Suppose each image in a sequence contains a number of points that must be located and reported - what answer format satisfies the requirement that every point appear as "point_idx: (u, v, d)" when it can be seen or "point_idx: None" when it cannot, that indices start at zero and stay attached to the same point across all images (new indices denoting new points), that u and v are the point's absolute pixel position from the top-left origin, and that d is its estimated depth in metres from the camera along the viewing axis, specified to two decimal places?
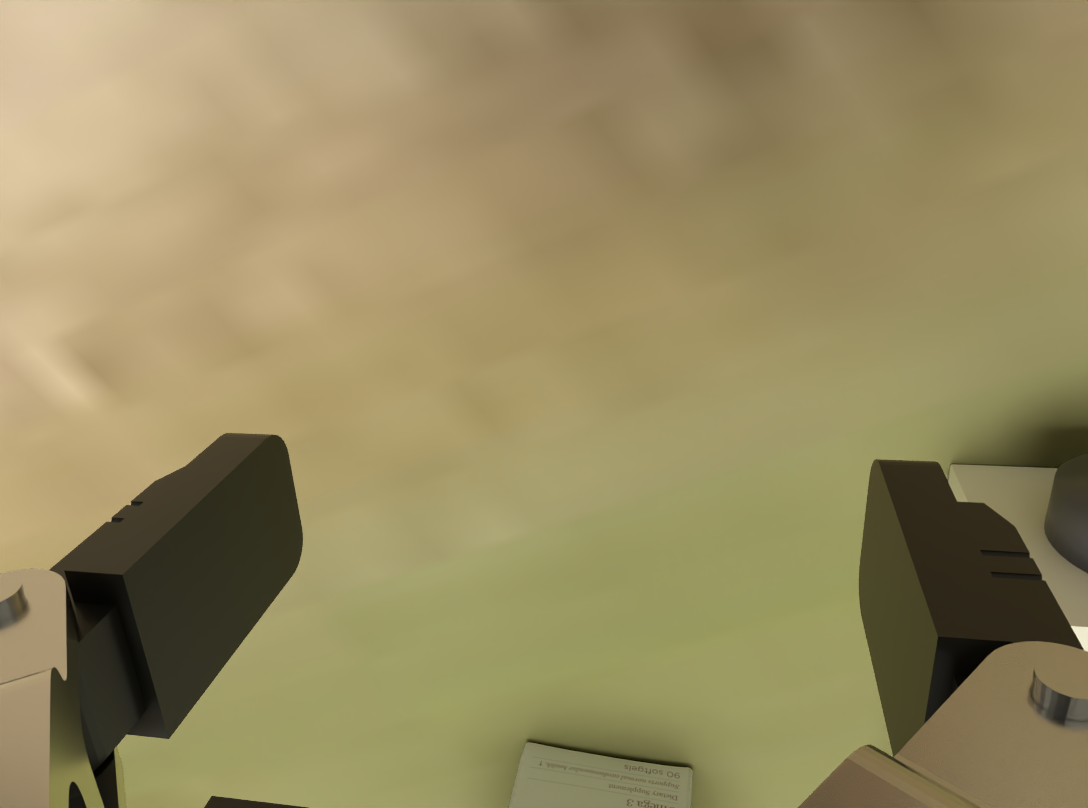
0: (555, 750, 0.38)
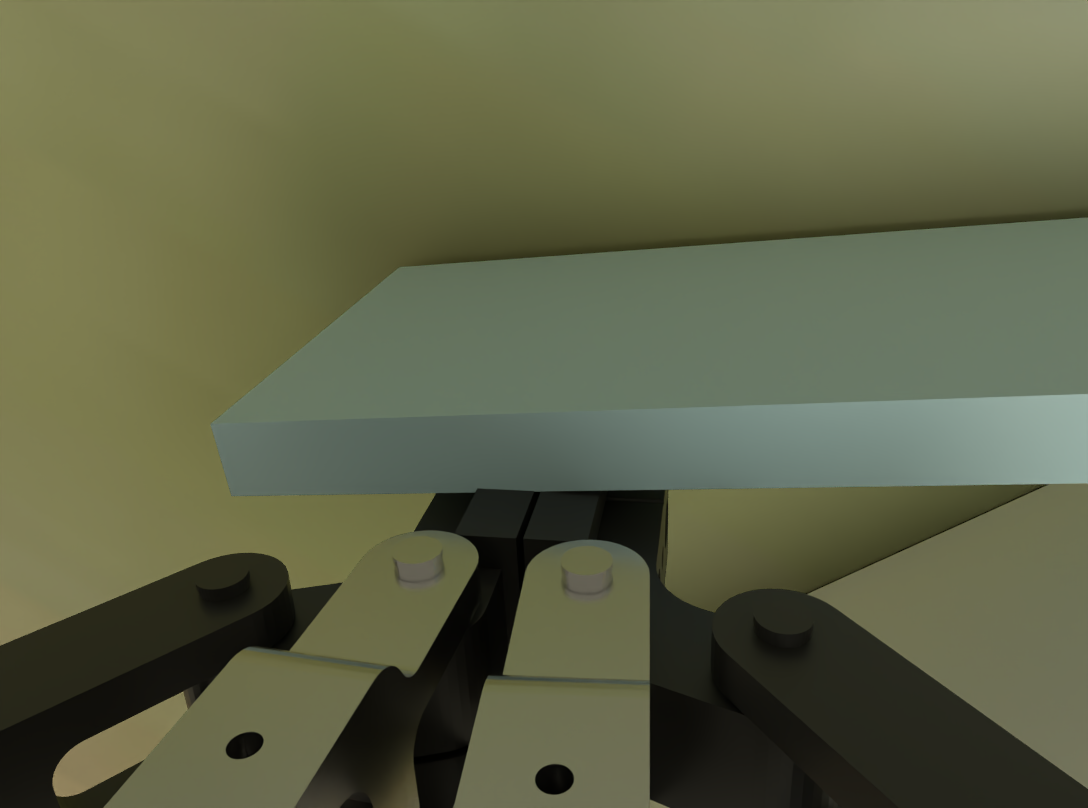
0: None
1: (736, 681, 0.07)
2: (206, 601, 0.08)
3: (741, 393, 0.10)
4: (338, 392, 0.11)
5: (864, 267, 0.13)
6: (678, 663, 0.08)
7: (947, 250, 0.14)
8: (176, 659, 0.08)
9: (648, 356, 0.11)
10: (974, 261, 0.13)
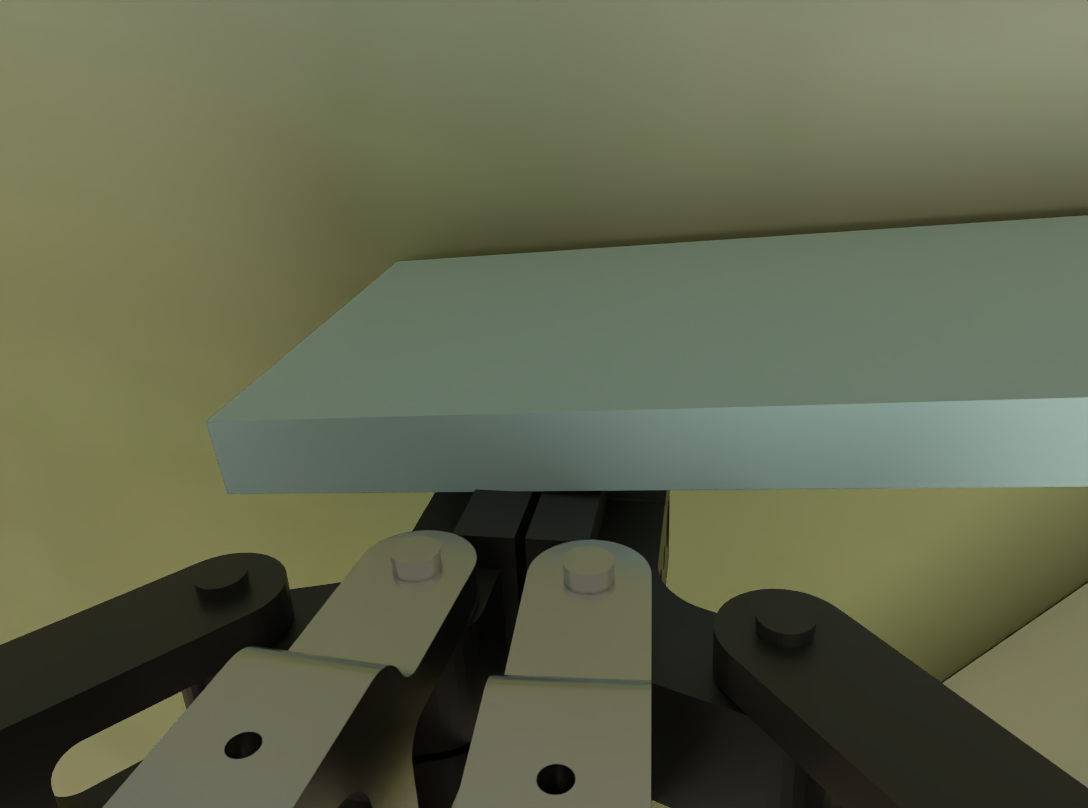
0: None
1: (738, 681, 0.07)
2: (204, 601, 0.08)
3: (738, 394, 0.10)
4: (335, 389, 0.11)
5: (863, 265, 0.13)
6: (680, 663, 0.08)
7: (947, 248, 0.14)
8: (174, 659, 0.08)
9: (646, 354, 0.11)
10: (974, 259, 0.13)
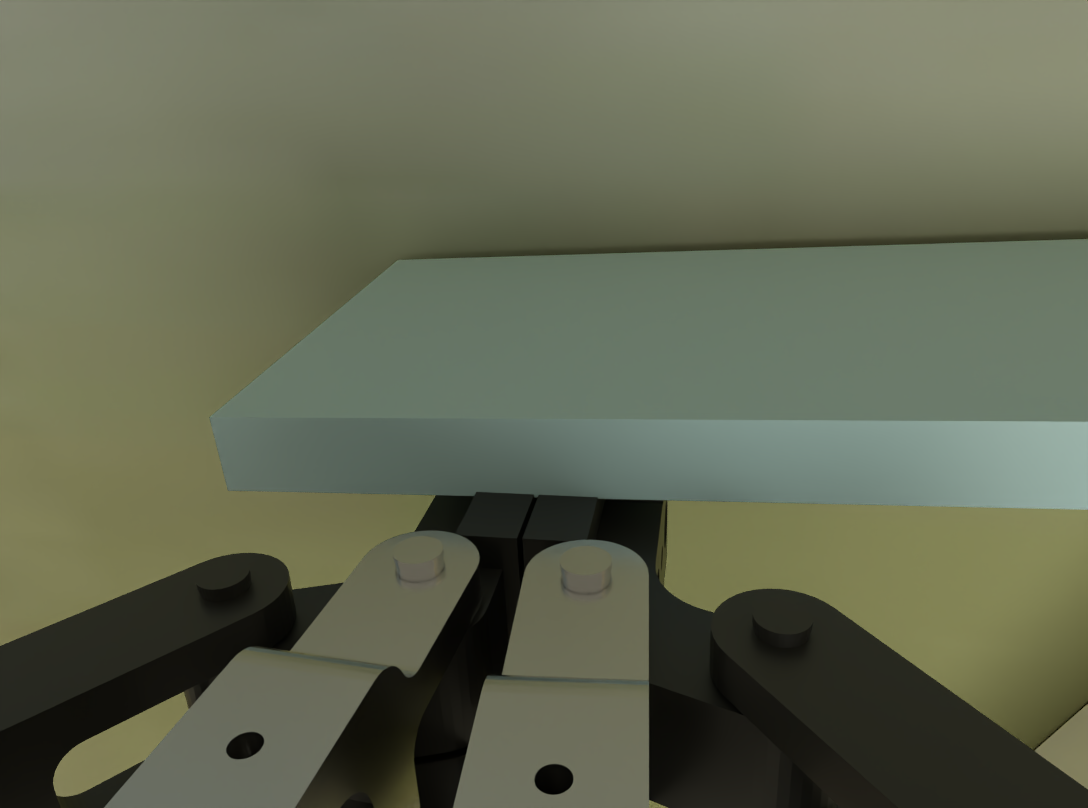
0: None
1: (735, 680, 0.07)
2: (207, 601, 0.08)
3: (749, 407, 0.10)
4: (340, 388, 0.11)
5: (868, 280, 0.13)
6: (677, 663, 0.08)
7: (950, 266, 0.14)
8: (176, 659, 0.08)
9: (655, 364, 0.11)
10: (977, 279, 0.13)
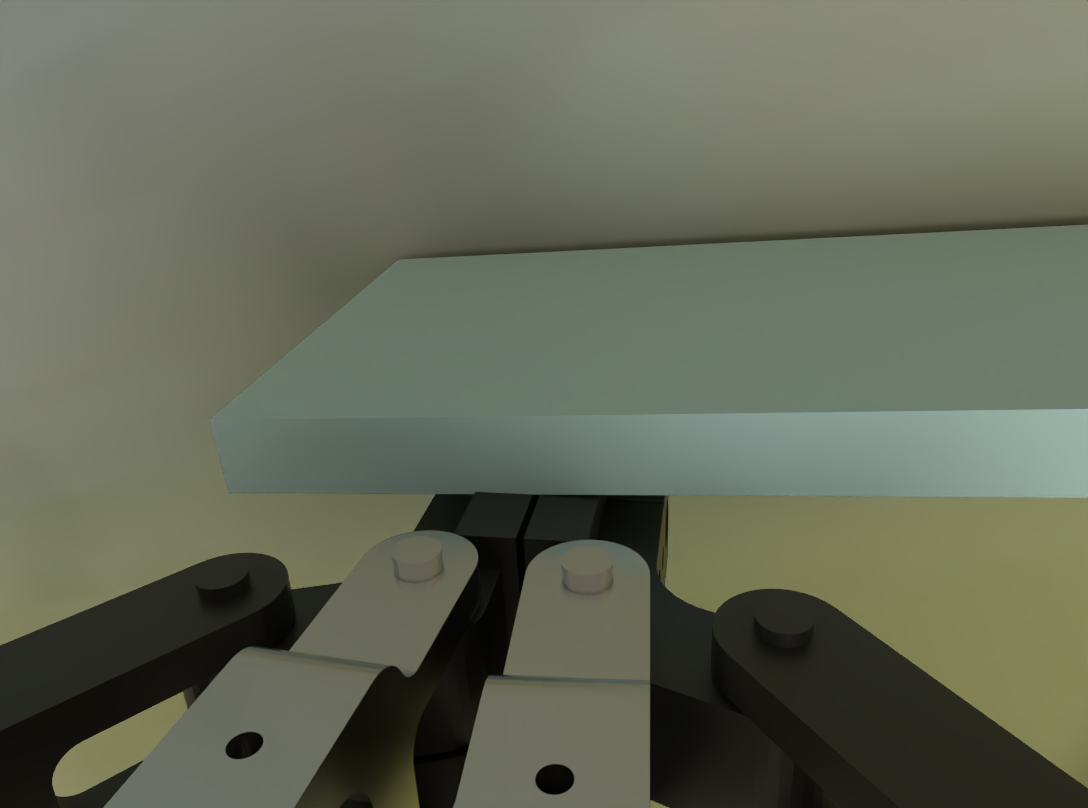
0: None
1: (736, 680, 0.07)
2: (206, 601, 0.08)
3: (747, 401, 0.10)
4: (339, 389, 0.11)
5: (868, 271, 0.13)
6: (678, 663, 0.08)
7: (952, 255, 0.14)
8: (176, 659, 0.08)
9: (652, 358, 0.11)
10: (979, 268, 0.13)
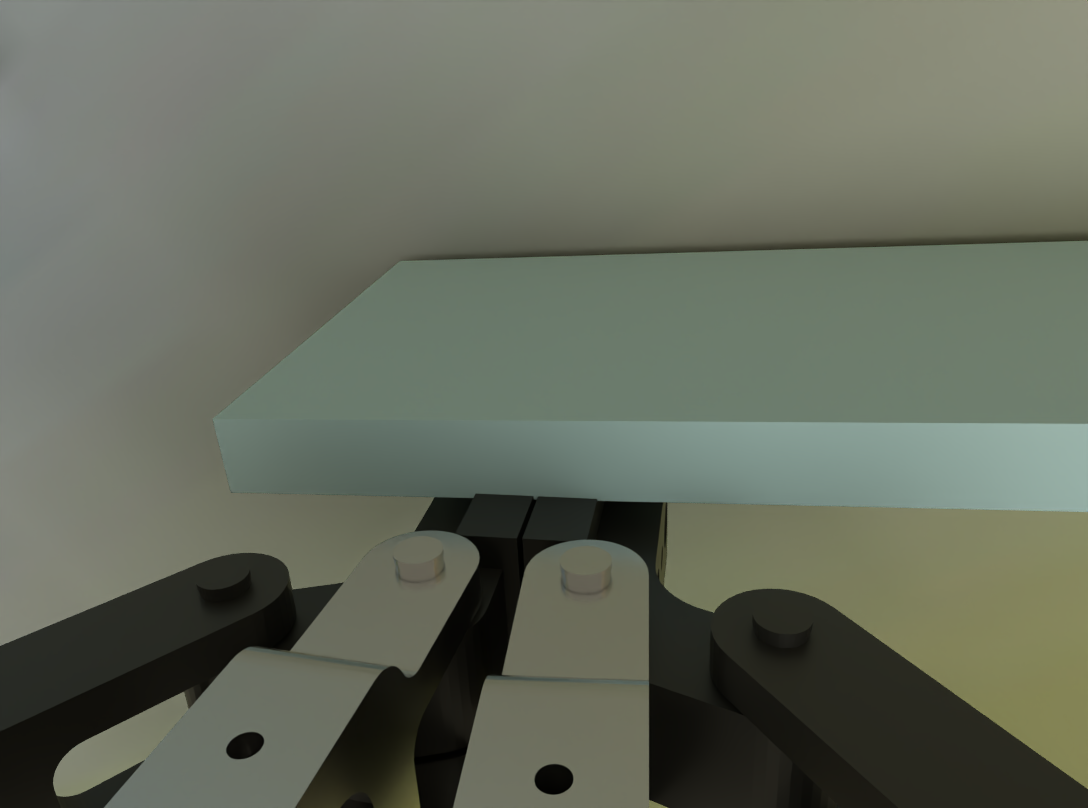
0: None
1: (735, 680, 0.07)
2: (207, 601, 0.08)
3: (755, 409, 0.10)
4: (344, 390, 0.11)
5: (872, 282, 0.13)
6: (677, 663, 0.08)
7: (954, 268, 0.14)
8: (177, 659, 0.08)
9: (659, 365, 0.11)
10: (982, 281, 0.13)
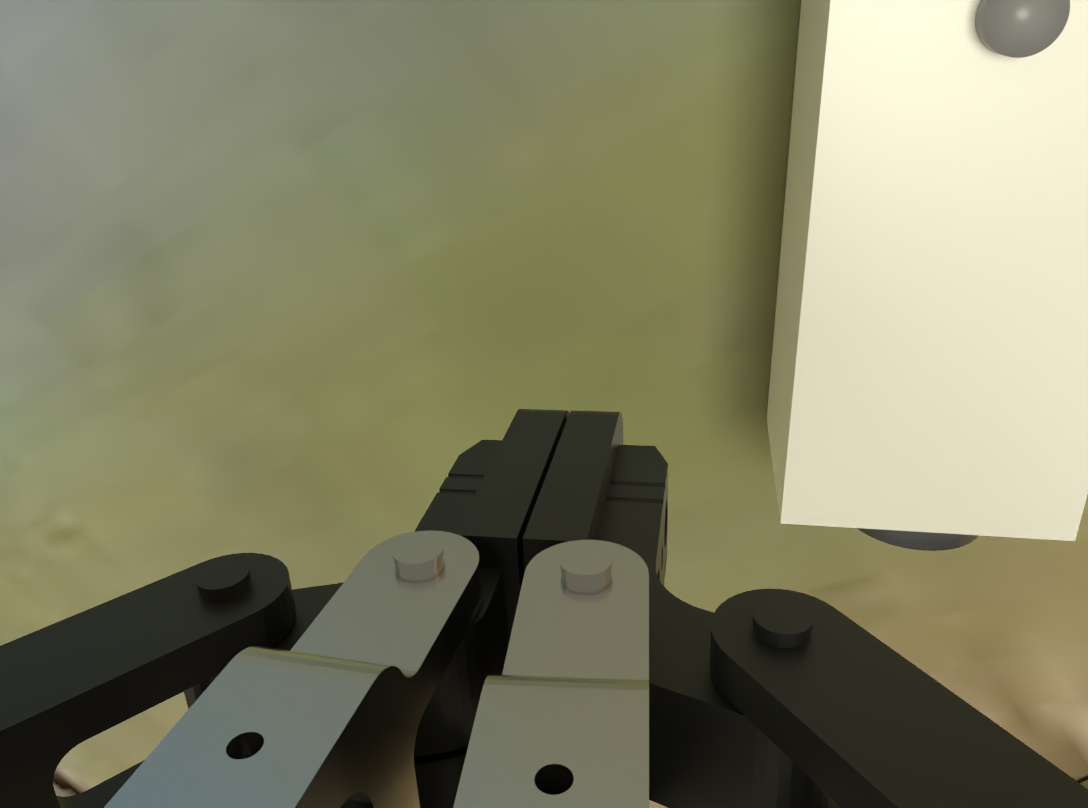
0: None
1: (735, 680, 0.07)
2: (206, 601, 0.08)
3: None
4: None
5: None
6: (676, 663, 0.08)
7: None
8: (176, 659, 0.08)
9: None
10: None
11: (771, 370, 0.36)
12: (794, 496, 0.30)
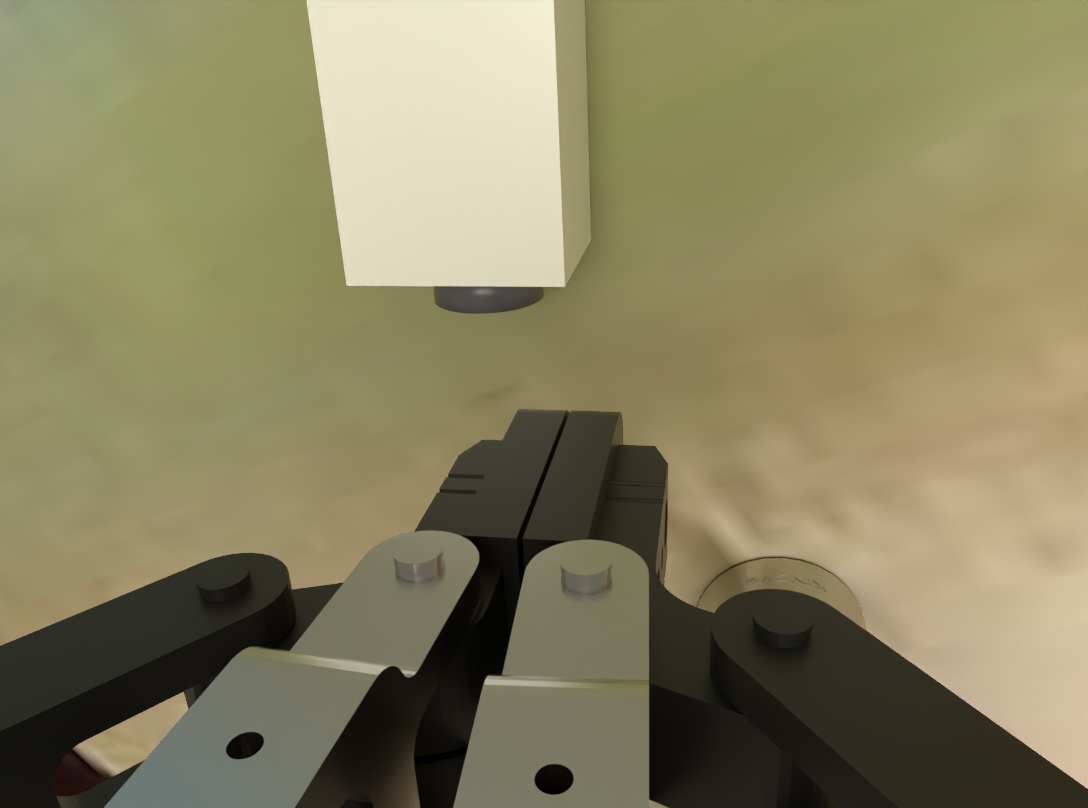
0: None
1: (735, 681, 0.07)
2: (207, 601, 0.08)
3: None
4: None
5: None
6: (676, 663, 0.08)
7: None
8: (177, 659, 0.08)
9: None
10: None
11: None
12: (351, 260, 0.37)
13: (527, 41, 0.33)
